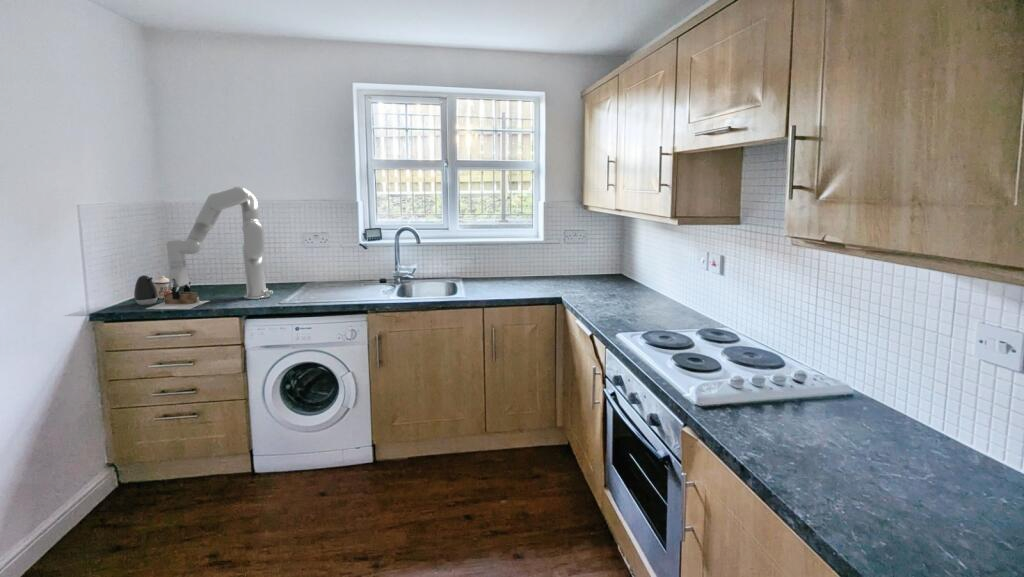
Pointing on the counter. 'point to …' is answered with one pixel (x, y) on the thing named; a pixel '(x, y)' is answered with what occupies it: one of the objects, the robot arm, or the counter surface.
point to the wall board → (177, 305)
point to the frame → (181, 298)
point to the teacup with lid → (162, 286)
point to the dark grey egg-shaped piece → (145, 291)
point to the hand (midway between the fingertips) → (182, 297)
